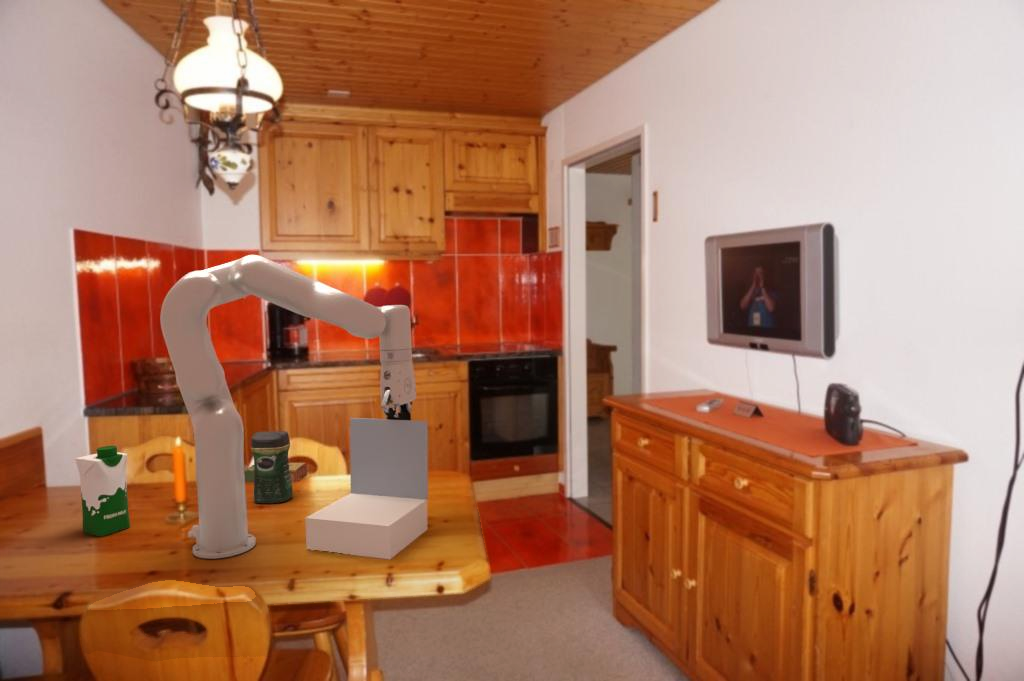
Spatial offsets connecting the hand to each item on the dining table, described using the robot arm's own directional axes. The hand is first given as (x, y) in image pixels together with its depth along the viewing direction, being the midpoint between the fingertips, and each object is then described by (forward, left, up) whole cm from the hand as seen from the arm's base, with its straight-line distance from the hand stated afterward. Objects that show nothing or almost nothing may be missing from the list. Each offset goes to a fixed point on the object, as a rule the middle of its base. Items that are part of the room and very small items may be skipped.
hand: (399, 430), depth 163 cm
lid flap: (0, -6, -5) cm, 8 cm away
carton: (-53, +22, -22) cm, 62 cm away
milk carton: (-64, -27, -22) cm, 73 cm away
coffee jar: (-40, +3, -22) cm, 46 cm away
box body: (0, -16, -21) cm, 26 cm away
